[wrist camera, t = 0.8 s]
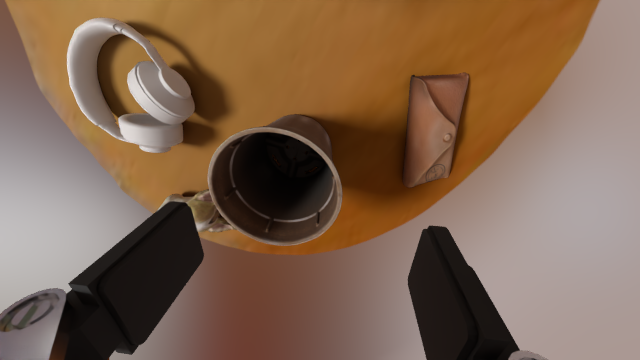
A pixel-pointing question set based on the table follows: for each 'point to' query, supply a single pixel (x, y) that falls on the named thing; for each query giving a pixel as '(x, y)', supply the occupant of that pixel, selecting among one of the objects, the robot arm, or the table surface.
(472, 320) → the robot arm
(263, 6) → the table surface
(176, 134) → the headphones
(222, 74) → the table surface
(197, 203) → the ceramic sculpture
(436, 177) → the sunglasses case
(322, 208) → the plant pot
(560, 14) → the table surface
